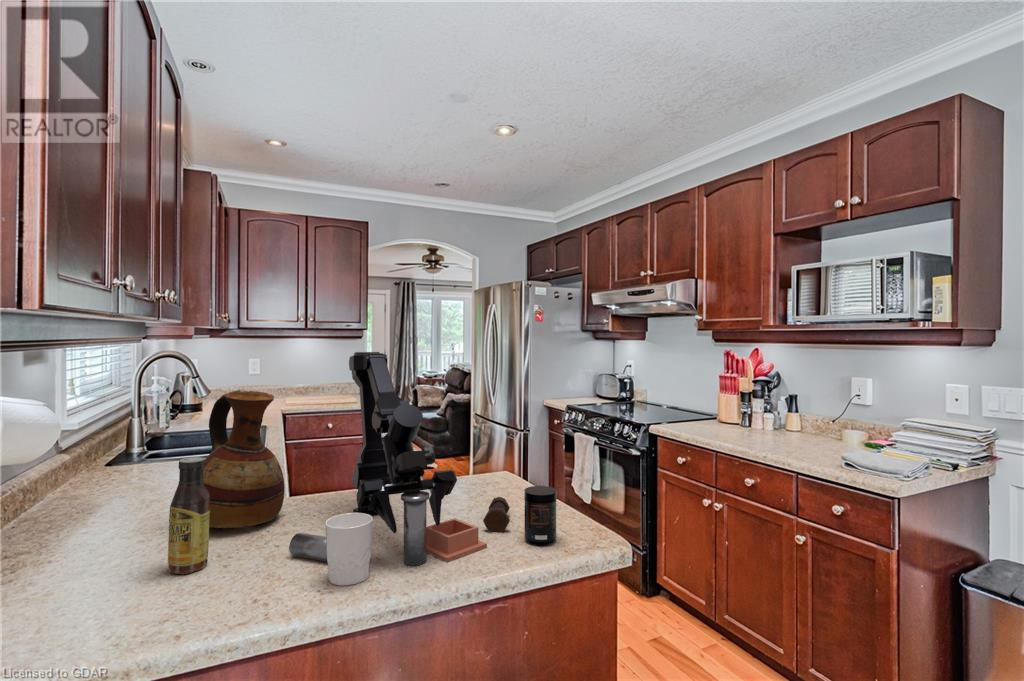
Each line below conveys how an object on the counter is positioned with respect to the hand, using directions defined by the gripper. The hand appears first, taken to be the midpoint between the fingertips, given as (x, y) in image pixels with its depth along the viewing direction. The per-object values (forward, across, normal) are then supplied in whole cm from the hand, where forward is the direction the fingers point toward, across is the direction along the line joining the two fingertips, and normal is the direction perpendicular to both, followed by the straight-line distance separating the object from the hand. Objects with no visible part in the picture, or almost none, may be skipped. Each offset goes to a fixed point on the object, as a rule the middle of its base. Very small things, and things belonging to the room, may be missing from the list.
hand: (417, 528), depth 95 cm
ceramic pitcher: (-24, -29, +34) cm, 51 cm away
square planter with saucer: (+2, +9, +8) cm, 12 cm away
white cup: (+4, -12, +6) cm, 14 cm away
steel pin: (+4, 0, +6) cm, 7 cm away
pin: (-6, -13, +12) cm, 19 cm away
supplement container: (+5, +26, +4) cm, 27 cm away
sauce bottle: (-8, -37, +18) cm, 42 cm away
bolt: (-5, +24, +15) cm, 29 cm away
